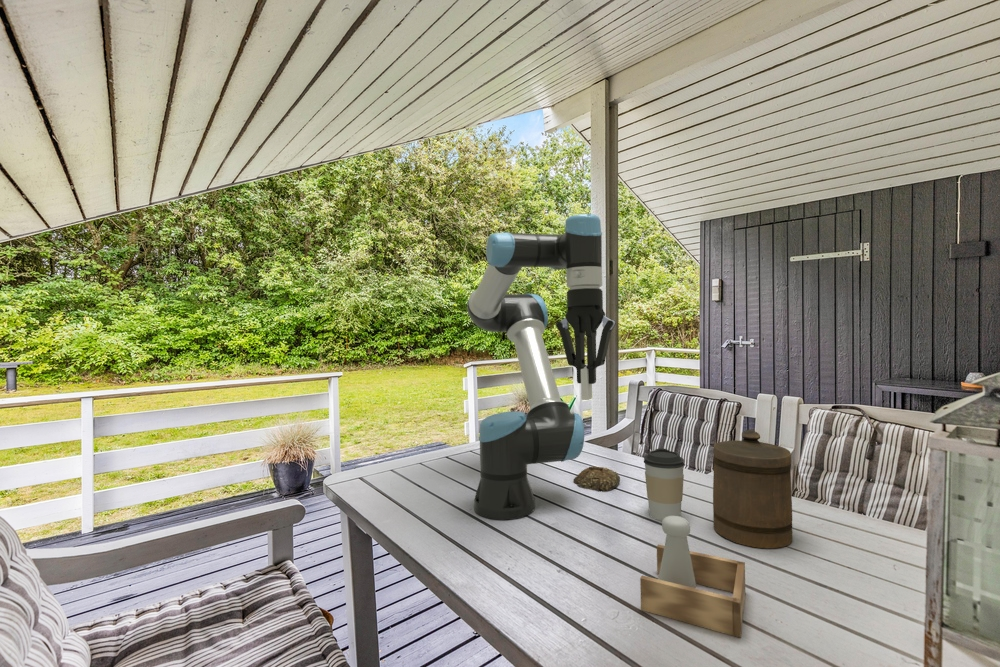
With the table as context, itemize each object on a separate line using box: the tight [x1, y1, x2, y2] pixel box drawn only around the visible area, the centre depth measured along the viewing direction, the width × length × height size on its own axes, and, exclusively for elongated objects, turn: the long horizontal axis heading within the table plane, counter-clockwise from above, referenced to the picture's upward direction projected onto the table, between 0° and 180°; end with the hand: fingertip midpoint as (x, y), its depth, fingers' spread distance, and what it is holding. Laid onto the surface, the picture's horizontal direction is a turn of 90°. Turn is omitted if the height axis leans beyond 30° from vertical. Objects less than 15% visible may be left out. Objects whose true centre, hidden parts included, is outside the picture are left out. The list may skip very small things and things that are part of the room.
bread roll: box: [573, 466, 621, 493], centre depth 133 cm, size 13×12×5 cm
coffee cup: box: [643, 448, 685, 522], centre depth 110 cm, size 9×9×15 cm
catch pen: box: [639, 544, 746, 638], centre depth 76 cm, size 14×13×5 cm
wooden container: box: [712, 429, 793, 549], centre depth 99 cm, size 15×15×22 cm
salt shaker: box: [657, 516, 697, 589], centre depth 77 cm, size 6×6×13 cm
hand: (586, 398), depth 100 cm, fingers closed
